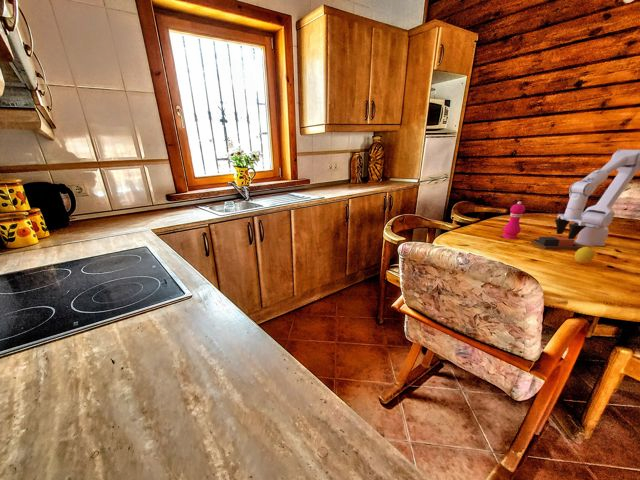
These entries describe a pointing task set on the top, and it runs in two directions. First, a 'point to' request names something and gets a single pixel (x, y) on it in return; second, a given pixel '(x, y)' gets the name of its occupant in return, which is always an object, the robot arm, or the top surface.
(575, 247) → the backing tray
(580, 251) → the lemon
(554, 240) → the pad
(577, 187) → the robot arm
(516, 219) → the pepper mill
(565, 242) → the pad
